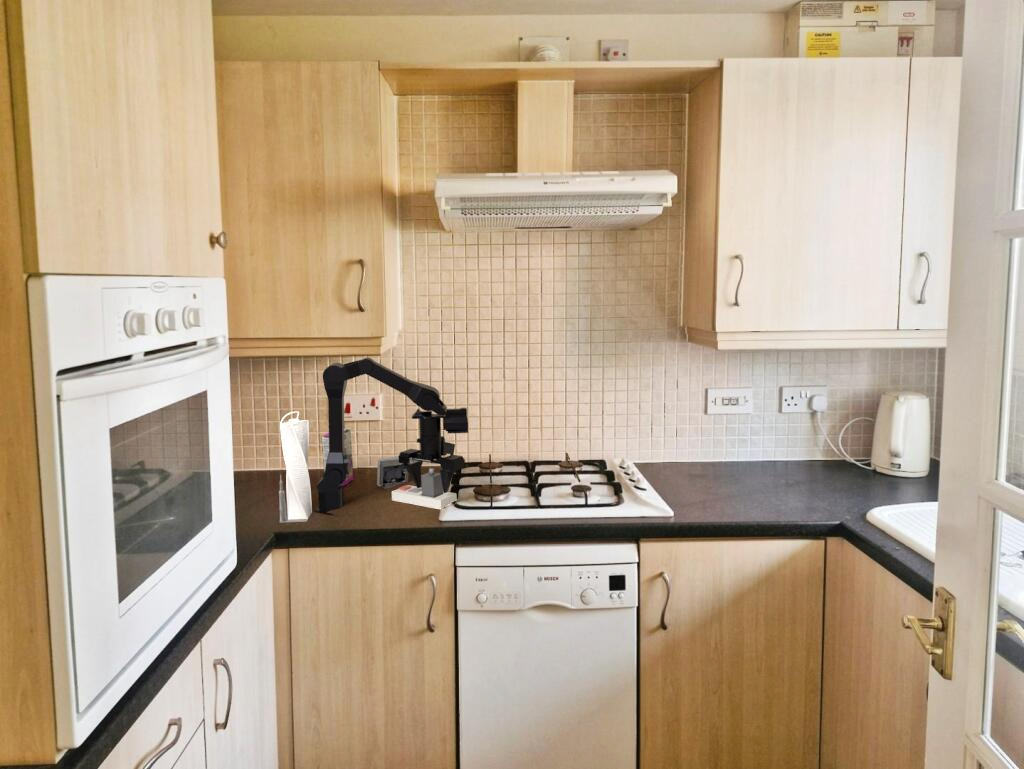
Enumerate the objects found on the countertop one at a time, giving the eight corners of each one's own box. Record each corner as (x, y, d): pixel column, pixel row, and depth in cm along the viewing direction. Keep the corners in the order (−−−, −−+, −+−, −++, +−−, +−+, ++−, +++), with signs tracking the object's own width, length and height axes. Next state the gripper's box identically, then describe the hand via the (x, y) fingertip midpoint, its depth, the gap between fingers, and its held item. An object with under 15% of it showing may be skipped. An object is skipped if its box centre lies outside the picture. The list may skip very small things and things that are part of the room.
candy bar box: (338, 479, 233) (336, 427, 230) (354, 479, 232) (351, 428, 229) (323, 489, 222) (320, 435, 219) (339, 490, 221) (336, 436, 218)
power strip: (441, 513, 198) (440, 498, 198) (392, 503, 207) (391, 489, 207) (456, 505, 204) (456, 491, 204) (408, 496, 213) (407, 482, 213)
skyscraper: (286, 513, 202) (280, 411, 197) (317, 512, 202) (311, 410, 198) (279, 523, 193) (272, 417, 189) (311, 522, 194) (304, 416, 190)
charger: (434, 505, 201) (432, 471, 200) (422, 503, 203) (421, 469, 202) (443, 501, 205) (442, 467, 203) (431, 499, 207) (430, 466, 205)
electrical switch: (407, 482, 228) (406, 453, 226) (411, 488, 224) (411, 458, 222) (376, 486, 225) (375, 456, 222) (380, 492, 220) (380, 462, 218)
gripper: (476, 431, 203) (477, 487, 205) (421, 425, 213) (423, 478, 215) (451, 440, 194) (453, 498, 196) (396, 432, 204) (398, 488, 206)
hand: (432, 490), depth 204 cm, fingers open, 9 cm apart
